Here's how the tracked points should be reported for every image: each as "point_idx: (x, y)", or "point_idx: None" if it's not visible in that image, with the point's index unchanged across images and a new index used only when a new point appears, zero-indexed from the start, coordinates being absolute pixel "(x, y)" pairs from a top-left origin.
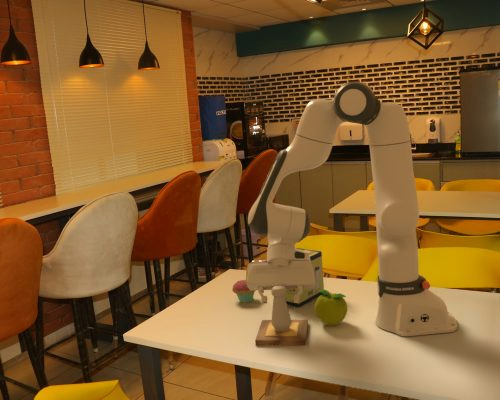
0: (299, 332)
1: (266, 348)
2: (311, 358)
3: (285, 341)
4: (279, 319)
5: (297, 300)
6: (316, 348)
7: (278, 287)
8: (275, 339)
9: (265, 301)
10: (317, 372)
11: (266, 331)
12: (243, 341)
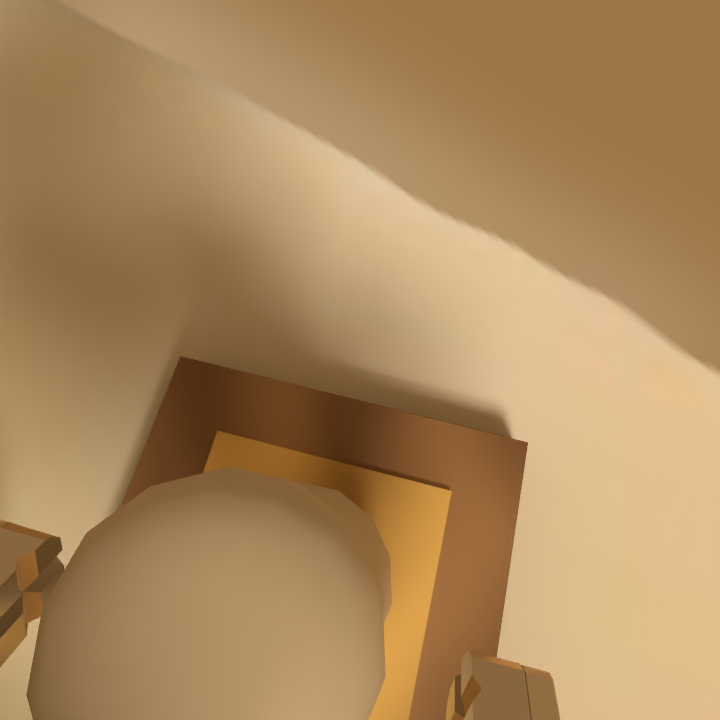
0: None
1: (444, 388)
2: (207, 212)
3: (313, 391)
4: (320, 492)
5: (6, 522)
6: (141, 311)
7: (204, 610)
8: (379, 417)
9: (481, 656)
10: (221, 91)
11: (436, 573)
12: (607, 539)
